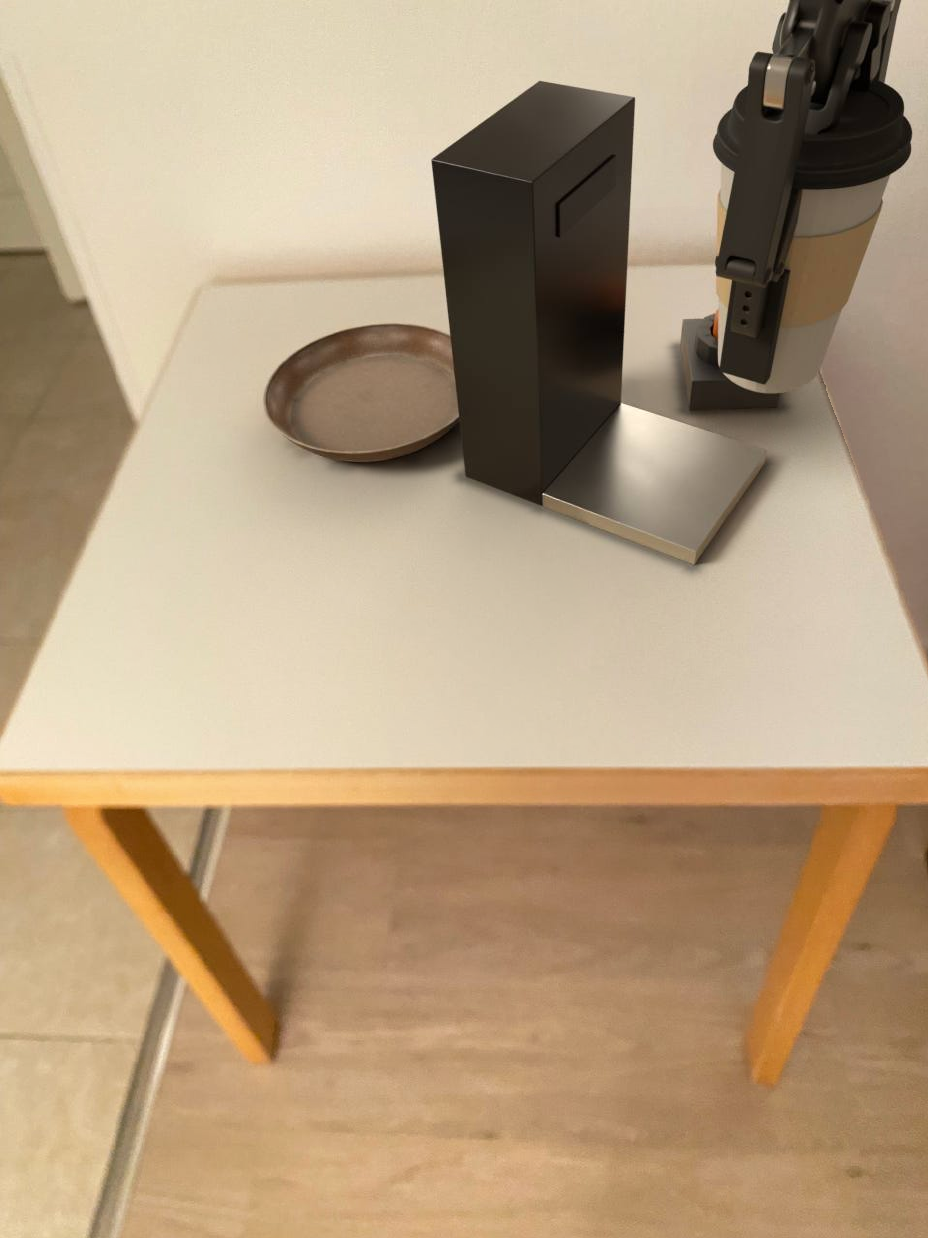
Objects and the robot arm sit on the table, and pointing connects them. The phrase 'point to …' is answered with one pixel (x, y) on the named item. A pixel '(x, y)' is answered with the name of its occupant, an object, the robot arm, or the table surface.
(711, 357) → the control block
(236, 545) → the table surface
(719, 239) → the coffee cup
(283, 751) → the table surface
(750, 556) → the table surface
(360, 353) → the plant saucer
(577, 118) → the coffee maker
